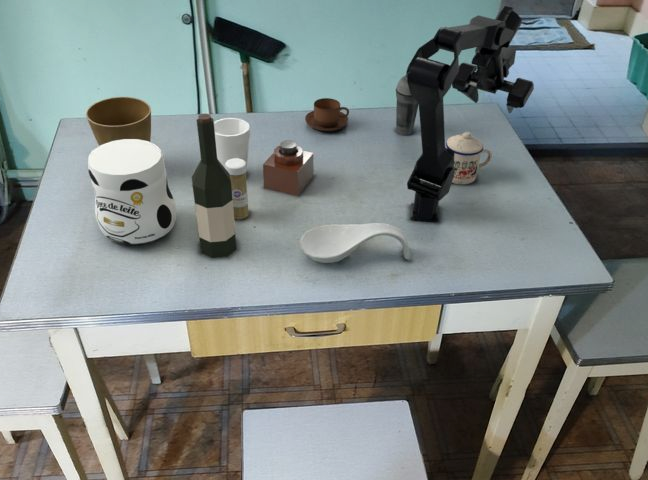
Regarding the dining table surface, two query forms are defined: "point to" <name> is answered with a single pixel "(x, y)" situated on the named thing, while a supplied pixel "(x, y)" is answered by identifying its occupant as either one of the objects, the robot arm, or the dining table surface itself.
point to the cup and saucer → (327, 115)
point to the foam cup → (232, 139)
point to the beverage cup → (405, 108)
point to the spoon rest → (346, 240)
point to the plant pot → (120, 119)
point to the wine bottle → (213, 196)
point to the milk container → (131, 191)
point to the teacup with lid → (467, 157)
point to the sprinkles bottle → (238, 187)
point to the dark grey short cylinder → (288, 148)
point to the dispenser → (288, 171)
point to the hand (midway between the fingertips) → (493, 106)
